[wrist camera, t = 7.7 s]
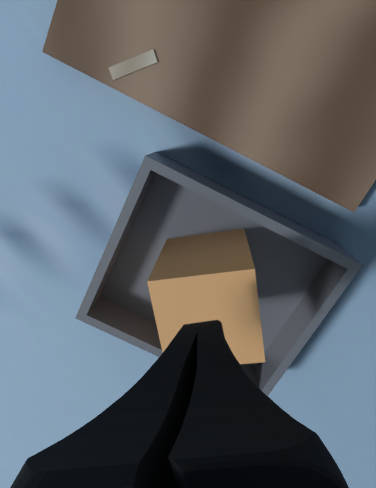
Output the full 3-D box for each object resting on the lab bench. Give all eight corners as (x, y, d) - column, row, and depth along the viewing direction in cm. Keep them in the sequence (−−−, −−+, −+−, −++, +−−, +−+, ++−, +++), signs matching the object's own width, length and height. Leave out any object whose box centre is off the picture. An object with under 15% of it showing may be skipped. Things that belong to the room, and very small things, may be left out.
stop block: (244, 228, 20) (255, 268, 14) (252, 299, 21) (265, 362, 15) (166, 238, 20) (147, 281, 15) (179, 306, 22) (166, 370, 16)
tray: (342, 246, 20) (362, 265, 17) (256, 370, 23) (261, 404, 20) (156, 151, 19) (145, 155, 16) (93, 294, 22) (75, 318, 20)
